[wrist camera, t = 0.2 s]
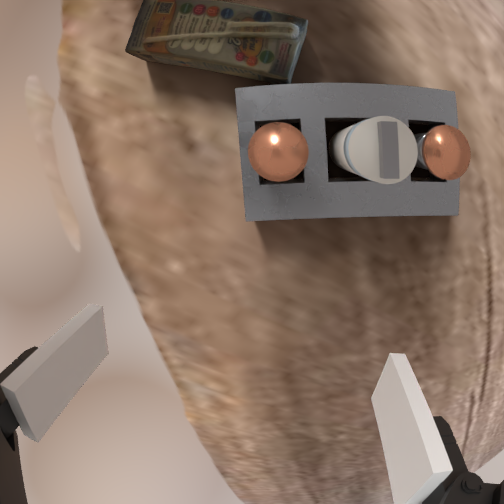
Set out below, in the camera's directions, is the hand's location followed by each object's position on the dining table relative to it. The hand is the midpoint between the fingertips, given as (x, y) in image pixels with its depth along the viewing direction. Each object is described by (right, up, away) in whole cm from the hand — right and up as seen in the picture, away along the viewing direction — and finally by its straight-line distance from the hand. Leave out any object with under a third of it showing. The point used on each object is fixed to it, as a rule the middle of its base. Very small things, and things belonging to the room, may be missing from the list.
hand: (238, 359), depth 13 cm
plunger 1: (+4, +15, +20) cm, 25 cm away
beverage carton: (-3, +29, +19) cm, 36 cm away
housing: (+12, +16, +21) cm, 30 cm away
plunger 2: (+19, +16, +18) cm, 31 cm away
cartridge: (+12, +16, +21) cm, 30 cm away
